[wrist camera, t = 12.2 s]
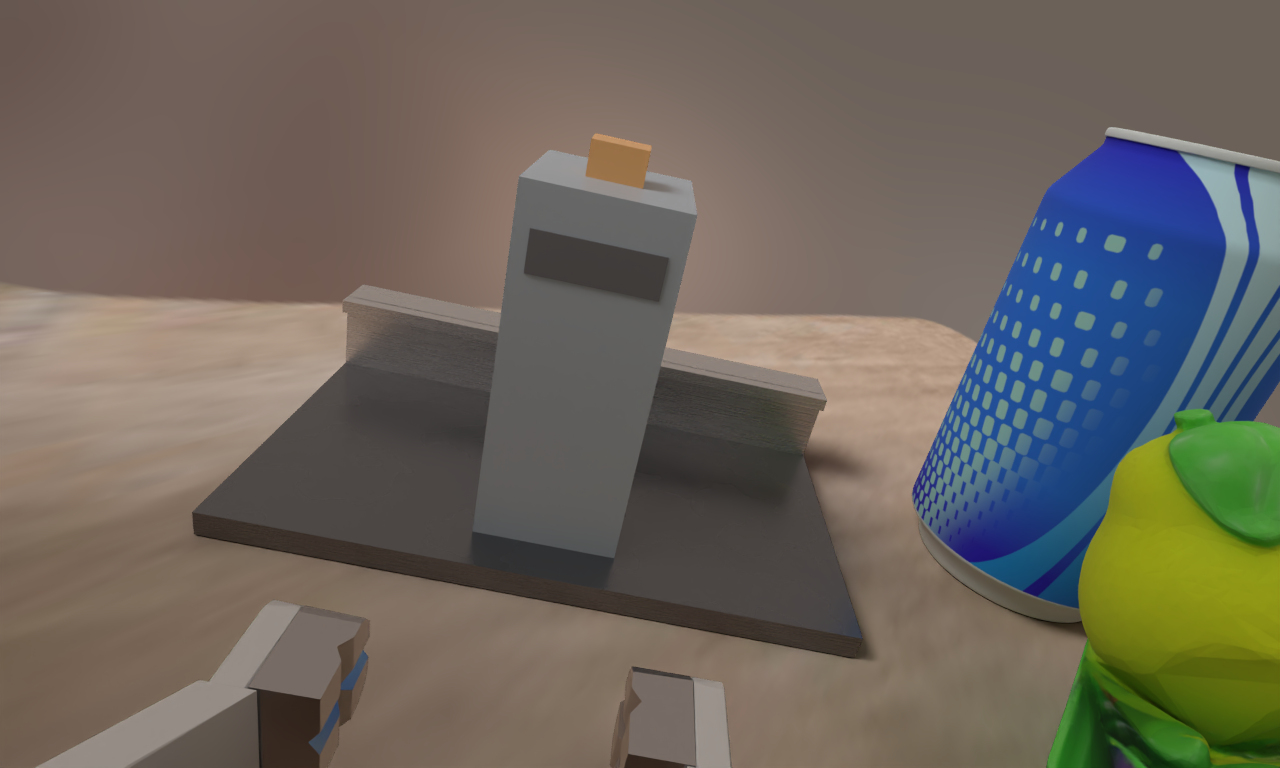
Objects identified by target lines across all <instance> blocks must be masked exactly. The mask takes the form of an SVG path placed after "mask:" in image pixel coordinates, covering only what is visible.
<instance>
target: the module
mask: <svg viewBox="0 0 1280 768" xmlns="http://www.w3.org/2000/svg"><path fill="white" fill-rule="evenodd" d="M651 147H652V146H650V145H646V144H641V143H637V142H632V141H628V140H623V139H619V138H615V137H610V136H606V135H601V134H597V133H596V134H595V135H594V136H593V137H592V140H591V145H590V151H589V158H585V157H580V156H576V155H572V154H567V153H563V152H558V151H554V150H549V151H548V152H546V153H545V154H544V155H543V156H542V157H541V158H540V159H538V160H537V161H536V162H535V163H534V164H533V165H531V166H530V167H529V168H528V169H527V170H526V171H524V172H523V173H522V174H521V175H520V176H519V180H518V188H517V195H516V203H515V211H514V218H513V226H512V234H511V241H510V249H509V256H508V265H507V272H506V279H505V287H504V295H503V303H502V310H501V317H500V325H499V333H498V340H497V348H496V356H495V363H494V371H493V378H492V386H491V394H490V401H489V409H488V417H487V424H486V432H485V439H484V447H483V455H482V462H481V470H480V478H479V485H478V493H477V500H476V508H475V516H474V523H473V532H478V533H483V534H489V535H494V536H499V537H504V538H510V539H515V540H520V541H525V542H531V543H536V544H541V545H546V546H552V547H557V548H562V549H567V550H573V551H578V552H583V553H588V554H594V555H599V556H604V557H609V558H614V557H615V553H616V548H617V544H618V540H619V536H620V532H621V528H622V524H623V520H624V515H625V511H626V507H627V503H628V499H629V495H630V491H631V487H632V482H633V478H634V474H635V470H636V466H637V462H638V458H639V454H640V450H641V445H642V441H643V437H644V433H645V429H646V425H647V421H648V417H649V412H650V408H651V404H652V400H653V396H654V392H655V388H656V384H657V379H658V375H659V371H660V367H661V363H662V359H663V355H664V351H665V346H666V342H667V338H668V334H669V330H670V326H671V322H672V318H673V314H674V309H675V305H676V301H677V297H678V293H679V289H680V285H681V281H682V276H683V272H684V268H685V264H686V260H687V256H688V251H689V248H690V243H691V239H692V235H693V231H694V227H695V223H696V219H697V210H696V205H695V198H694V192H693V186H692V181H689V180H684V179H680V178H675V177H670V176H667V175H662V174H657V173H652V172H648V171H647V167H648V162H649V157H650V152H651Z"/></svg>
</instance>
